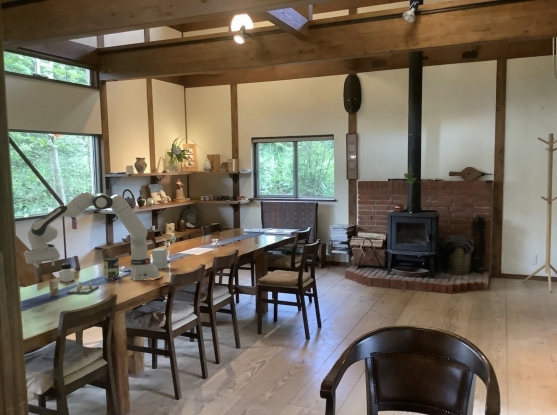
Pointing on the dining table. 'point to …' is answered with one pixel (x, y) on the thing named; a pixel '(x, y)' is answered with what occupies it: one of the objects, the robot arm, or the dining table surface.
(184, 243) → the dining table surface
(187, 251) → the dining table surface
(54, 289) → the birch peg
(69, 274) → the medicine bottle
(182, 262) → the dining table surface
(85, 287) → the pin board
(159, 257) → the supplement box
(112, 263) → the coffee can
